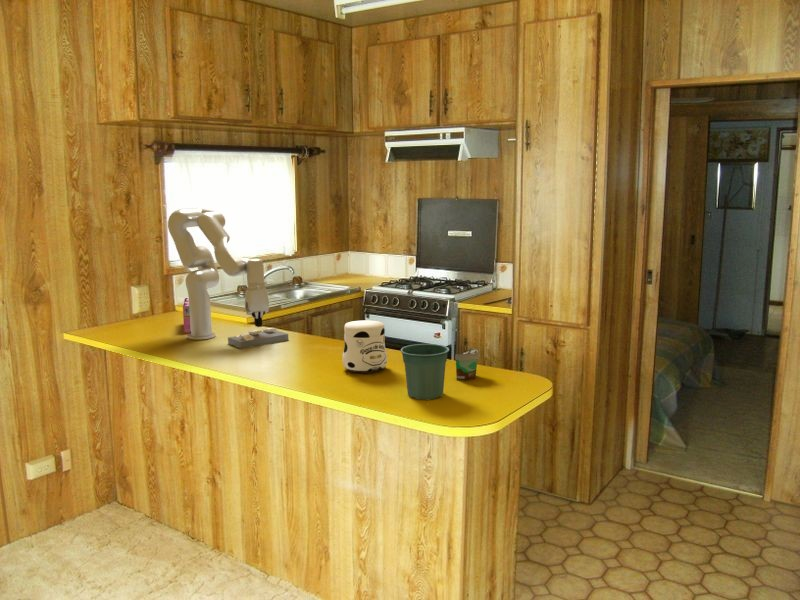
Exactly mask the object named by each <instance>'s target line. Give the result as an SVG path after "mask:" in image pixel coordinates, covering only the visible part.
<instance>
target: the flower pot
mask: <svg viewBox="0 0 800 600" xmlns="http://www.w3.org/2000/svg"><path fill="white" fill-rule="evenodd" d="M400 352H401V354H402V362H403V363H404V370H405V371H404V372H405V378H406V380H405V381H406V390H407V396H408V397H410V398H412V399H413V398H414V399H416V400H423V401H428V400H435V399H437V398H441V397H442V396H443V395H444V387H445V385H444V384H445V375H446V373H445V372H446V364H447V361H448V353H449V352H450V348H449V347H447V346H445V345H442V344H433V343H421V344H420V343H417V344H409V345H406V346H402V348H401V349H400Z"/></svg>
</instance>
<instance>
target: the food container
mask: <svg viewBox="0 0 800 600" xmlns="http://www.w3.org/2000/svg"><path fill="white" fill-rule="evenodd" d="M479 358H480V354H479V350H478V349H477V348H472V347H469V349H468V350H467V351H463V352H462V353H459V354H457V353H455V356H454V361H455V369H456V370H455V372H456V375H455V376H456V381H461V382H462V381H466V382H467V381H472V380H475V379H476V378H477V369H478V368H477V367H478V359H479Z"/></svg>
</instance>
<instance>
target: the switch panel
mask: <svg viewBox="0 0 800 600" xmlns="http://www.w3.org/2000/svg"><path fill="white" fill-rule="evenodd" d="M248 334H249V333H248ZM249 335H251V336H252V337H254V339H253V340H248V341H246V340H244V339H242V338H241V337H240V335H234V336H228V337H227V341H228V342H227V343H228V345H230V346H232V345H233V347H236V348H238V349H240V350H242V349H246V348H247V349H248V348H254V347H259V346H264V344H265V345H268V344H269V343H271V344H276V343H281V342H280V341H282V342H286V340H287V341H289V333H286V332H283V331H280V330H277V329H276V330H275V331H270V332H266V331H265V332H263V331H262V333H258V334H249ZM275 342H276V343H275ZM269 345H270V344H269Z"/></svg>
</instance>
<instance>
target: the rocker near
mask: <svg viewBox="0 0 800 600" xmlns="http://www.w3.org/2000/svg"><path fill="white" fill-rule="evenodd" d="M239 336H240V337H241V338H242V339H244V340H246V341H248V340H253V339H254V337H252V336H251V335H249V333H248V332H245V333H239Z"/></svg>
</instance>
